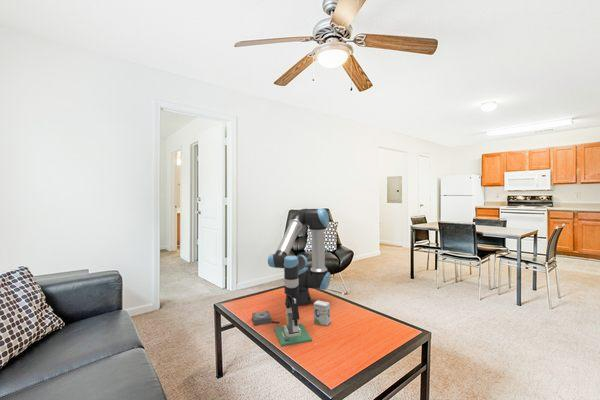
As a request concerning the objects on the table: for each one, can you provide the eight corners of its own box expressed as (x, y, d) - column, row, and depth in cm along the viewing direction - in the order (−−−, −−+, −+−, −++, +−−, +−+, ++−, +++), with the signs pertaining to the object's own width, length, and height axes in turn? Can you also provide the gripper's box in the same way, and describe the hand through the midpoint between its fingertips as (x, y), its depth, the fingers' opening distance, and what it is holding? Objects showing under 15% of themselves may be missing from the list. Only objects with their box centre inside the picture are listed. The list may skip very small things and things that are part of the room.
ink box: (330, 322, 161) (330, 302, 161) (327, 326, 157) (327, 305, 156) (317, 319, 165) (316, 299, 165) (313, 323, 161) (313, 302, 160)
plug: (294, 330, 150) (294, 312, 150) (296, 334, 146) (296, 315, 146) (286, 332, 149) (286, 313, 148) (288, 335, 145) (288, 316, 145)
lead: (279, 322, 161) (279, 321, 161) (278, 323, 161) (278, 322, 161) (271, 321, 163) (271, 320, 163) (270, 322, 162) (270, 321, 162)
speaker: (268, 315, 171) (268, 309, 171) (271, 322, 162) (271, 316, 162) (252, 317, 168) (252, 312, 168) (254, 325, 159) (254, 319, 159)
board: (301, 325, 159) (301, 318, 158) (312, 341, 141) (311, 333, 141) (274, 329, 154) (274, 322, 154) (281, 346, 137) (281, 338, 137)
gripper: (279, 279, 158) (280, 316, 158) (290, 294, 134) (291, 338, 134) (292, 278, 160) (292, 314, 161) (305, 293, 136) (306, 335, 137)
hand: (292, 325), depth 147 cm, fingers open, 13 cm apart
